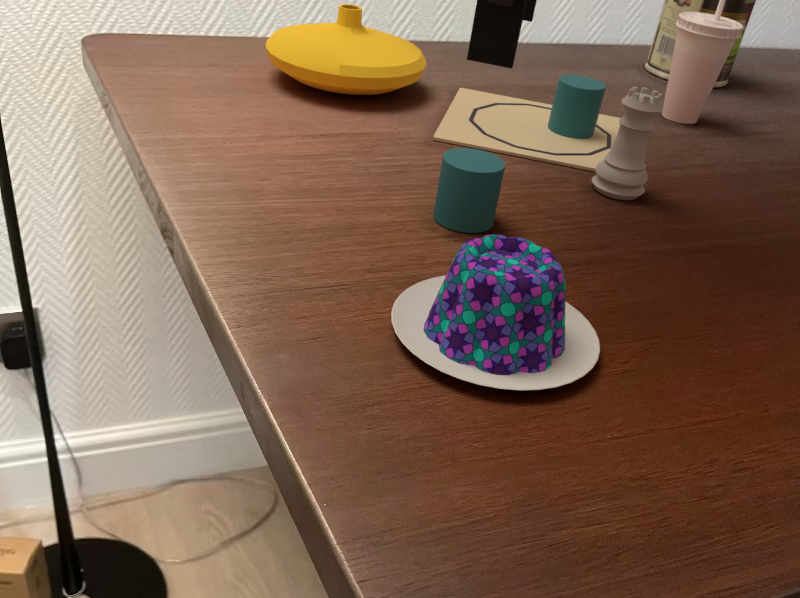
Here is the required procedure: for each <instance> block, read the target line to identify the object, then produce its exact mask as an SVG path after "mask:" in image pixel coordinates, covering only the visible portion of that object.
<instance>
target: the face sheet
mask: <svg viewBox="0 0 800 598" xmlns="http://www.w3.org/2000/svg"><path fill="white" fill-rule="evenodd" d="M552 105H553V104H549V103H544V102H538V101H533V100H530V99H522V98H518V97H513V96H507V95H502V94H497V93H492V92H486V91H481V90H480V91H479V90H476V89H470V88H467V87H466V88H464V87H459V89H458V90H457V93H456V94H455V96H454V98H453V99H452V101H451V103H450V105H449V107H448V108H447V111H446V112H445V114H444V116H443V118H442V120H441V122H439V125H438V127H437V129H436V130H435V133H434V134H433V136H432V141H435V142H436V141H437V142H441V143H447V144H452V145H457V146H461V147H465V148H471V149H478V150H482V151H486V152H491V153H498V154H503V155H507V156H511V157H512V156H513V157H517V158H523V159H528V160H532V161H538V162H542V163H548V164H554V165H558V166H562V167H563V166H564V167H569V168H574V169H578V170H582V171H583V170H584V171H589V172H594V173H596V169H595V168H596V166H597V165H598V163H600V162H601V161H603V160H604V156H605V155H607V154H608V153H609V151H610V149H611V147H612V145H613V143H614V141H615V138H616V136H617V134H618V130H619V127H620V123H619V119H621V118H622V117H618V116H613V115H609V114H608V115H607V114H602V113H599V116H598V119H597V123H596V127H595V131H594V134H593V136H592V137H590V138H584V139H578V138H570V137H565V136H562V135H559V134H557V133H554V132H553V131H551V130H550V129H549V128H548V122H549V118H550V113H551V109H552Z"/></svg>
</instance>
